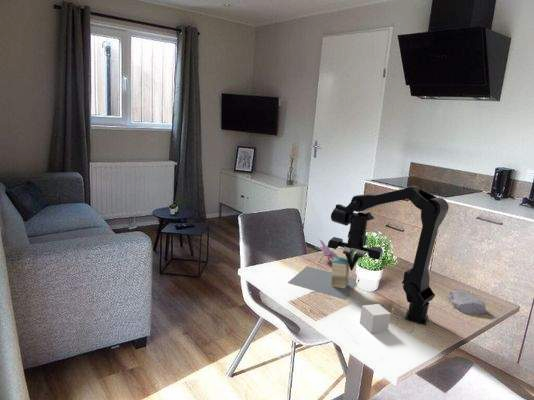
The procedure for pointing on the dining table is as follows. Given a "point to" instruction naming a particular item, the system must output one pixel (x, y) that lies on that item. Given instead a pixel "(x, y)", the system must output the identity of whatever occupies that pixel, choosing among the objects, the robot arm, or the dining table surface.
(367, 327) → the light grey cube
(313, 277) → the rubber mat
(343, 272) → the maple block
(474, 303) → the stone block
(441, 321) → the dining table surface
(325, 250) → the lily
